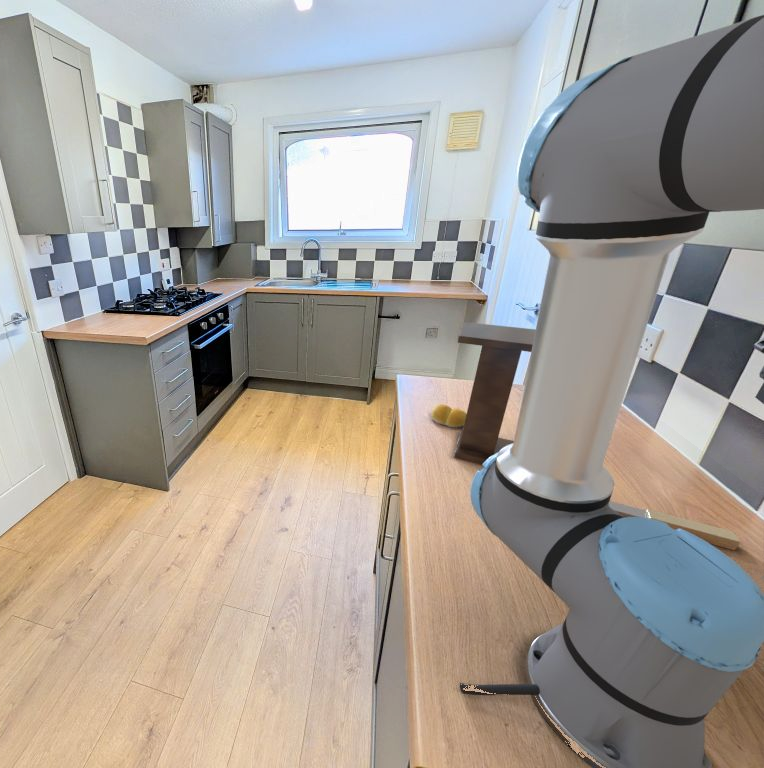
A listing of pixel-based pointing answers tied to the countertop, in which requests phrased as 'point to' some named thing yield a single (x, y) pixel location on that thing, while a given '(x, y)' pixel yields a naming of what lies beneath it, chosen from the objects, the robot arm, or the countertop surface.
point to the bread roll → (448, 416)
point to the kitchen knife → (682, 525)
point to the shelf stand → (490, 387)
